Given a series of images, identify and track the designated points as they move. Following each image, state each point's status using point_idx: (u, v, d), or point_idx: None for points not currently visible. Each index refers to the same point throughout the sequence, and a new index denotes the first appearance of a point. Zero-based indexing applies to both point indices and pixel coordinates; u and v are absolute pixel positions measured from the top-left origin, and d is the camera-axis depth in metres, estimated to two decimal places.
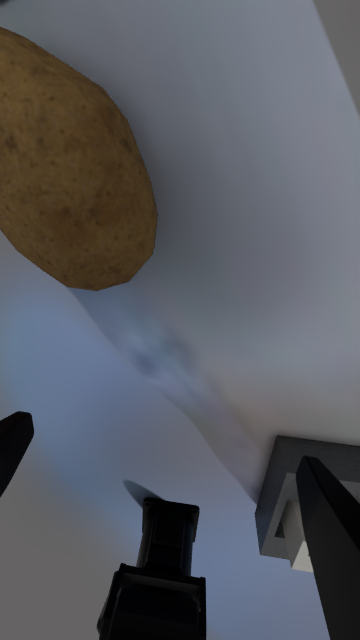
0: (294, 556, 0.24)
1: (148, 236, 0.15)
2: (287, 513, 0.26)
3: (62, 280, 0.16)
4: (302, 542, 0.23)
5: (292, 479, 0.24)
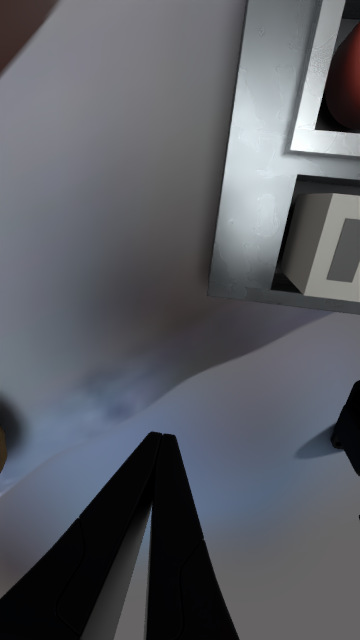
0: None
1: None
2: None
3: None
4: (309, 295, 0.12)
5: (222, 286, 0.15)
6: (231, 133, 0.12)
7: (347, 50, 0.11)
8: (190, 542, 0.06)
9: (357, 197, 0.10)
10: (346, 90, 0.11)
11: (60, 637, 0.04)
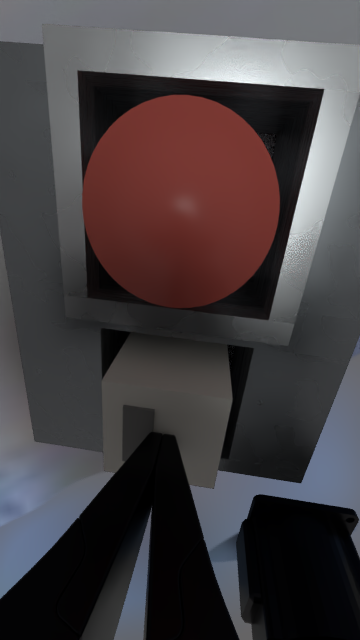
0: None
1: None
2: None
3: None
4: (110, 471, 0.10)
5: (48, 433, 0.13)
6: (10, 282, 0.10)
7: None
8: (190, 542, 0.06)
9: (130, 386, 0.09)
10: None
11: (60, 638, 0.04)
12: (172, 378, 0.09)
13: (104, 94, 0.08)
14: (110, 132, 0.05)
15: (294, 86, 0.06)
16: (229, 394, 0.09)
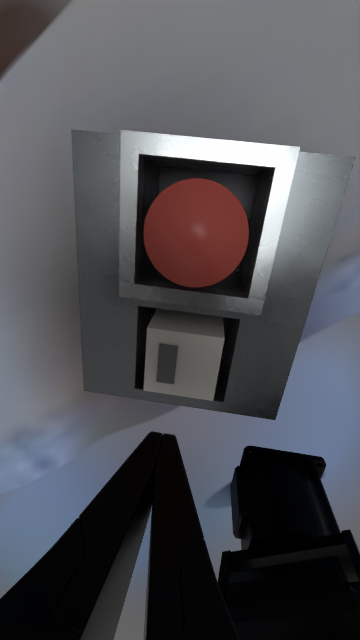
0: (188, 394, 0.16)
1: None
2: None
3: None
4: (148, 390, 0.16)
5: (94, 384, 0.18)
6: (79, 274, 0.15)
7: None
8: (190, 542, 0.06)
9: (164, 331, 0.15)
10: None
11: (59, 639, 0.04)
12: (188, 328, 0.15)
13: (148, 158, 0.13)
14: (161, 194, 0.10)
15: (259, 165, 0.11)
16: (222, 336, 0.15)
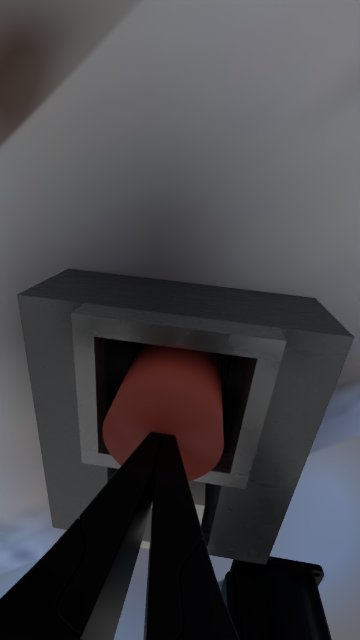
0: None
1: None
2: None
3: None
4: None
5: (64, 522, 0.16)
6: (38, 427, 0.13)
7: None
8: (190, 542, 0.06)
9: None
10: None
11: (59, 638, 0.04)
12: None
13: None
14: (120, 402, 0.09)
15: (237, 355, 0.09)
16: (203, 500, 0.13)
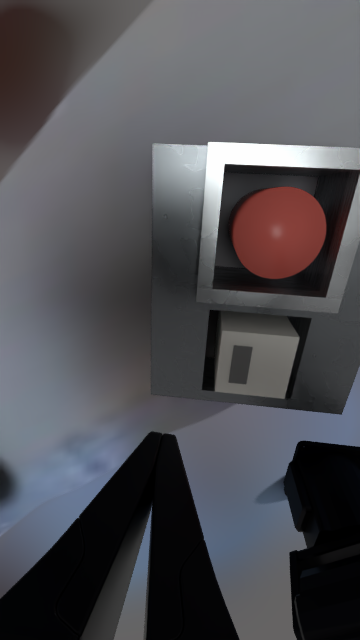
0: (259, 393, 0.17)
1: None
2: None
3: None
4: (219, 391, 0.17)
5: (162, 387, 0.18)
6: (152, 282, 0.15)
7: (230, 225, 0.15)
8: (190, 542, 0.06)
9: (239, 333, 0.15)
10: None
11: (60, 638, 0.04)
12: (261, 329, 0.15)
13: (223, 167, 0.13)
14: (252, 201, 0.12)
15: (344, 169, 0.12)
16: (296, 335, 0.15)
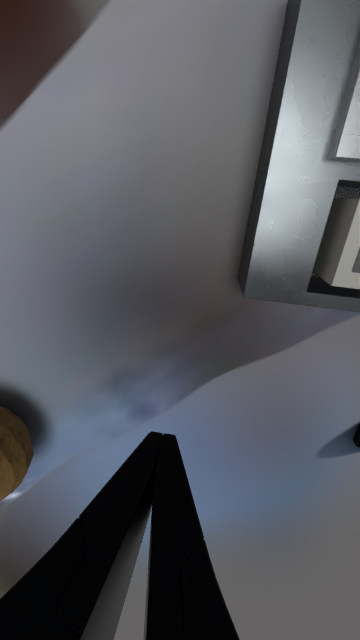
0: None
1: None
2: None
3: None
4: None
5: (258, 288, 0.16)
6: (275, 140, 0.13)
7: None
8: (190, 542, 0.06)
9: None
10: None
11: (60, 639, 0.04)
12: None
13: None
14: None
15: None
16: None
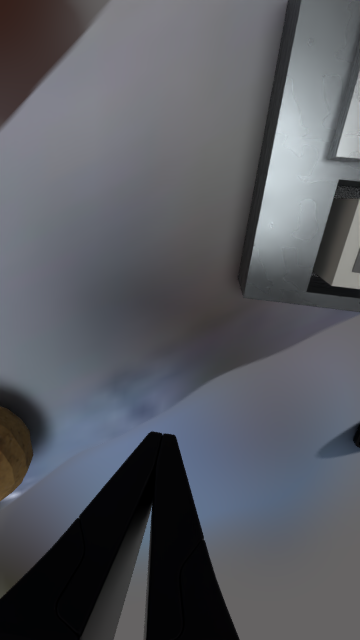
0: None
1: None
2: None
3: None
4: None
5: (258, 288, 0.16)
6: (275, 140, 0.13)
7: None
8: (190, 542, 0.06)
9: None
10: None
11: (60, 638, 0.04)
12: None
13: None
14: None
15: None
16: None
